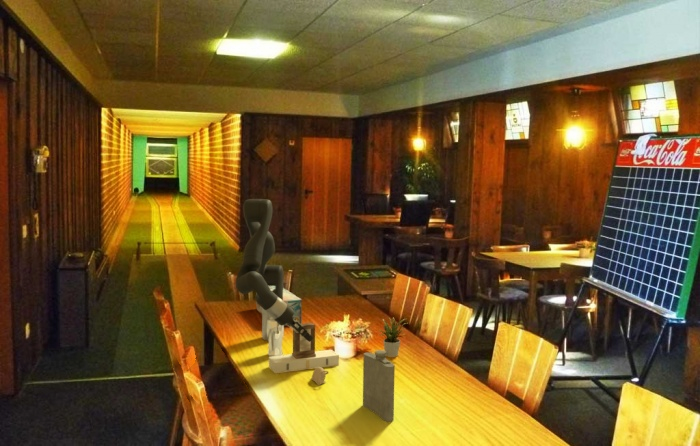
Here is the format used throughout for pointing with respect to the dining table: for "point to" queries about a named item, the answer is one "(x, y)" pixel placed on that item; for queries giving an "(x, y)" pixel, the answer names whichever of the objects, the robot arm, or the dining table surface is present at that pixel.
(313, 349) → the picture frame
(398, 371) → the dining table surface
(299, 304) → the soda box
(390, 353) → the house plant
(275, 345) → the beer glass
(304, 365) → the picture ledge
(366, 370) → the hip flask
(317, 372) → the decorative ornament
